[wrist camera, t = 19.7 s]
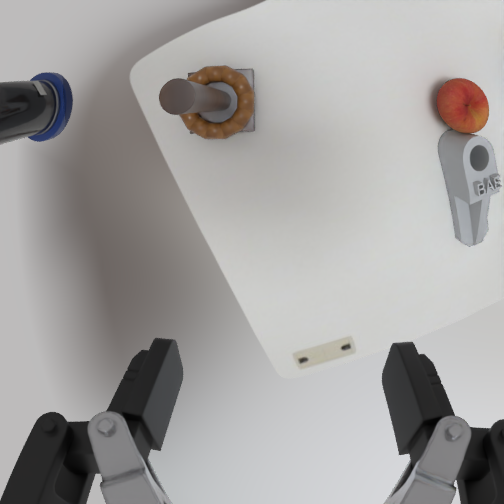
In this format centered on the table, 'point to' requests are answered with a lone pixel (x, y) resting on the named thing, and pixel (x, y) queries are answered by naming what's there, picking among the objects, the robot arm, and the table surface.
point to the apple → (463, 105)
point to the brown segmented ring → (241, 113)
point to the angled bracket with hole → (469, 182)
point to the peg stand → (204, 99)
